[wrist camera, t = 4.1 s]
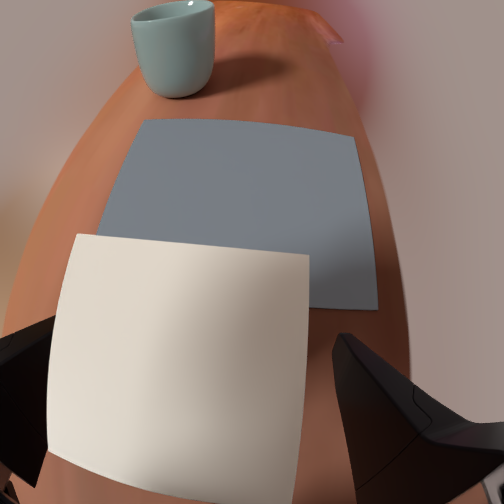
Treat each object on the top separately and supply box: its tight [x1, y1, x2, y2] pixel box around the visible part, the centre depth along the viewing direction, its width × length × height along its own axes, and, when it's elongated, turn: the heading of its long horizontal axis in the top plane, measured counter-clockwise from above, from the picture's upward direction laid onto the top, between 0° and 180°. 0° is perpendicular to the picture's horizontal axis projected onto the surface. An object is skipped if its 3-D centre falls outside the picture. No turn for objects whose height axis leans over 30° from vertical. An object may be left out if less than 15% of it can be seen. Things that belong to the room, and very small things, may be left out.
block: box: [47, 234, 309, 504], centre depth 9 cm, size 4×4×12 cm
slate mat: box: [96, 119, 378, 310], centre depth 19 cm, size 16×20×1 cm
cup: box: [131, 0, 215, 98], centre depth 20 cm, size 8×8×10 cm
